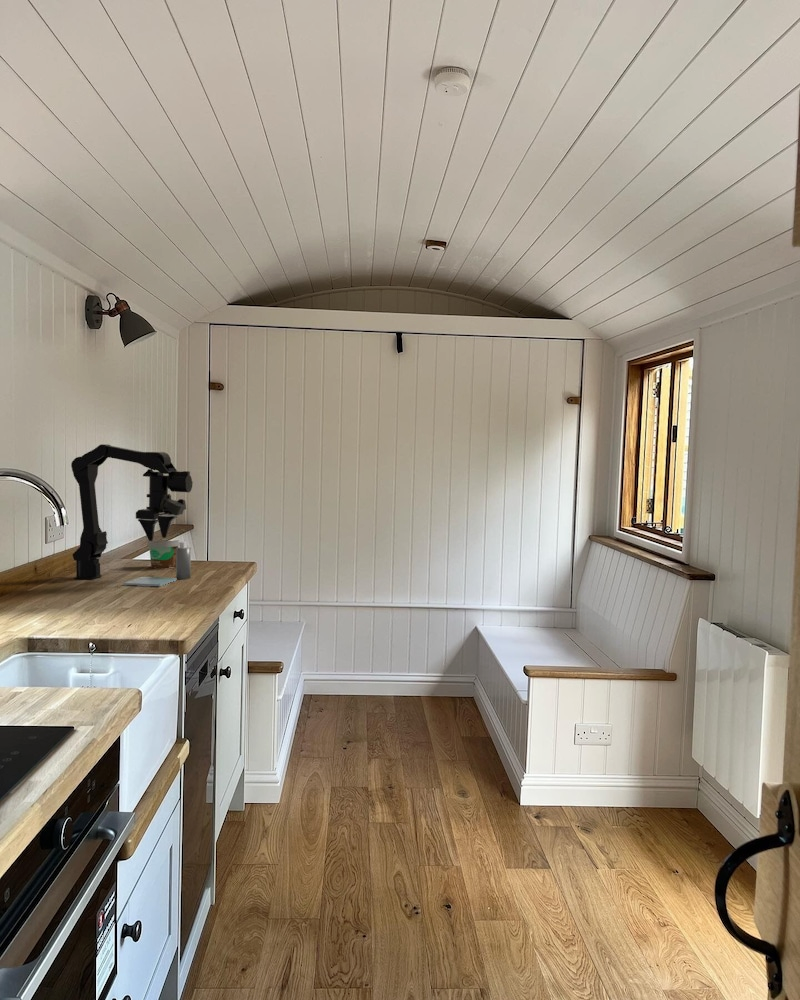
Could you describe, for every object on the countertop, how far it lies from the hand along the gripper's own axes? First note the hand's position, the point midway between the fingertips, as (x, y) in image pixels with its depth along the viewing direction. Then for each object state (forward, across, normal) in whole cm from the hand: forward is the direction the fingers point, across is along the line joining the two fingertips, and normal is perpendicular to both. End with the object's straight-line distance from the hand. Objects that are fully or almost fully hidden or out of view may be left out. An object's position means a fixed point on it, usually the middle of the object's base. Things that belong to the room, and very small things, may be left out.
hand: (157, 539), depth 250 cm
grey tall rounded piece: (+13, +6, -6) cm, 16 cm away
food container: (+14, +24, +11) cm, 30 cm away
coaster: (+13, -5, 0) cm, 14 cm away
